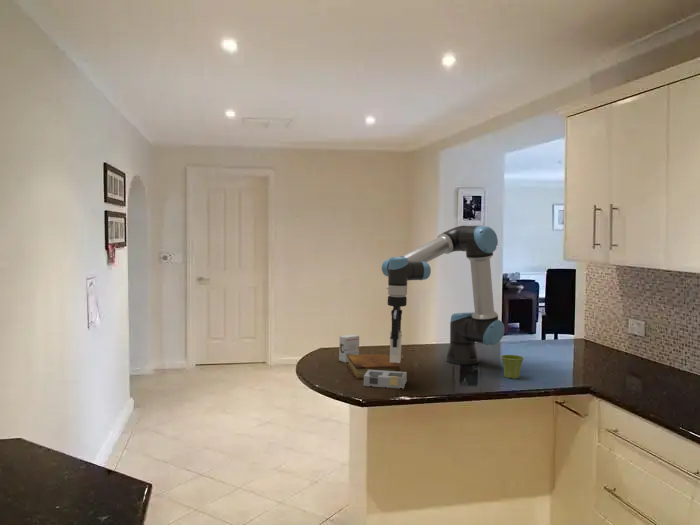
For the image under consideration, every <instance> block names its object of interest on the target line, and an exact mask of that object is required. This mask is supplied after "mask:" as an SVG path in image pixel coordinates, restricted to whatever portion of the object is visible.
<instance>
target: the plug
mask: <svg viewBox="0 0 700 525" xmlns="http://www.w3.org/2000/svg"><path fill="white" fill-rule="evenodd" d="M391 334H392V330H390V337H391ZM401 336H402V337H403V334H402V331H399V334H398V337H399V338H398V339H399V349H398V356H397V355H391V349H392V339H390V337H389V340H390V341H389V342H390V344H389V357H390V362H393V363H396V364H397V363H398V364H400V363H401V361H402V360H401V359H402V358H401V357H402V337H401Z"/></svg>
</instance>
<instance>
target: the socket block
mask: <svg viewBox="0 0 700 525" xmlns="http://www.w3.org/2000/svg"><path fill="white" fill-rule="evenodd" d="M407 377H408V374H407V371H400V372H399V371H383V370H368V371H367V372H366V374H365V375H364V379H363V387H370V386H372V388H385V387H386V388H385V389H400V388H402V389H405V386H406V385H405V384H407V381H408V380H407V379H408V378H407ZM402 389H401V390H402Z"/></svg>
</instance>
